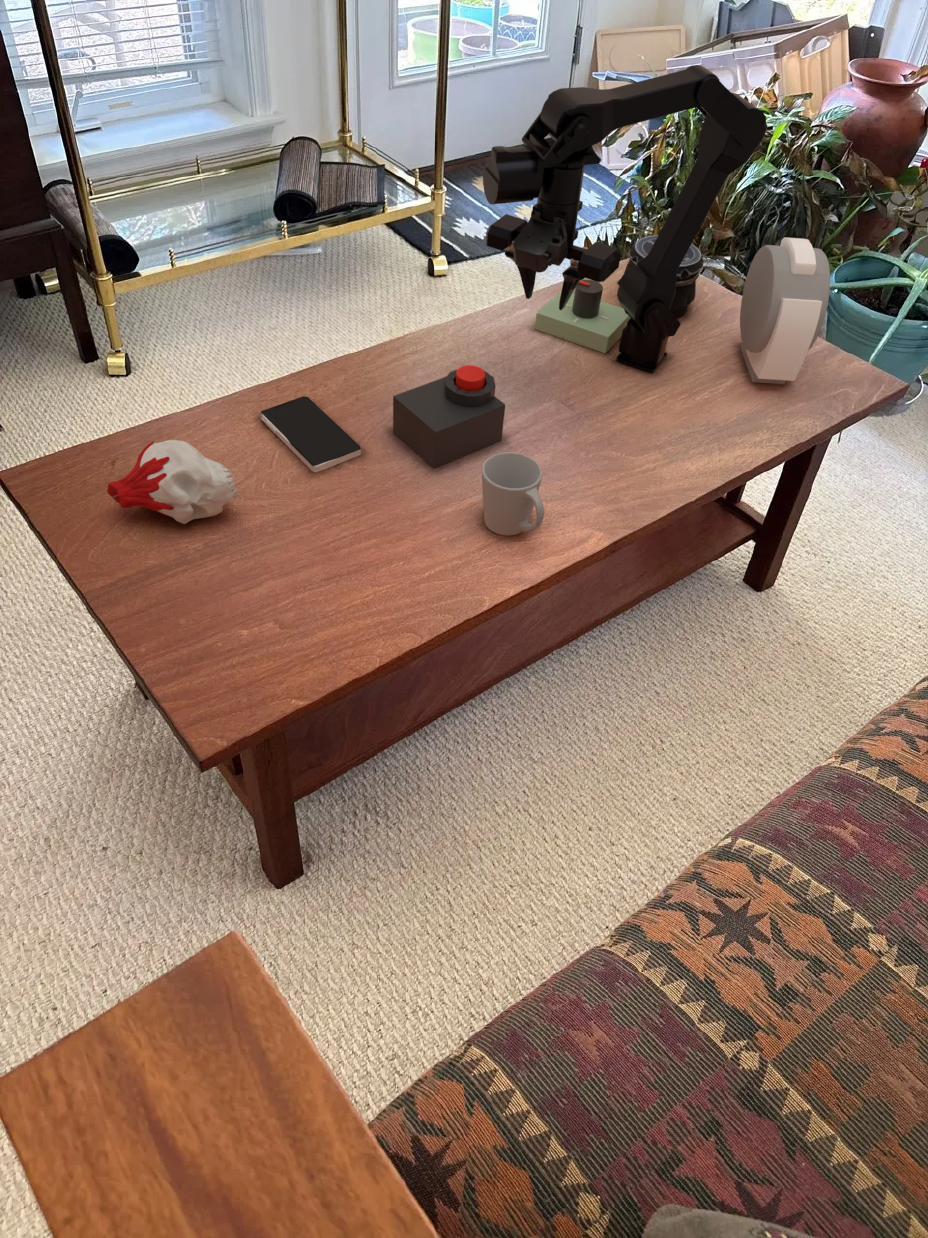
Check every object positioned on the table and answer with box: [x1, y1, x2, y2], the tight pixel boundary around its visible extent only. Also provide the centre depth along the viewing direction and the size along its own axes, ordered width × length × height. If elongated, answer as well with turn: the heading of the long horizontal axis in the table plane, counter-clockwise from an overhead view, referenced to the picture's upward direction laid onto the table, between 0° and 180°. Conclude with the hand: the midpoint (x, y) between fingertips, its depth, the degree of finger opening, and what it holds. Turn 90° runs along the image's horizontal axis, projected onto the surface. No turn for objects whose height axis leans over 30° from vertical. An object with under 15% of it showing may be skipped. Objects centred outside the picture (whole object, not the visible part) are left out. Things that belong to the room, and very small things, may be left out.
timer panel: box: [534, 289, 630, 354], centre depth 157 cm, size 13×10×3 cm
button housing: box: [392, 368, 506, 470], centre depth 133 cm, size 13×10×8 cm
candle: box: [106, 439, 240, 525], centre depth 119 cm, size 9×11×15 cm
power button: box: [456, 364, 485, 391], centre depth 131 cm, size 4×4×2 cm
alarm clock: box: [739, 237, 831, 385], centre depth 147 cm, size 18×8×20 cm, turn 179°
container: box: [627, 234, 704, 320], centre depth 162 cm, size 13×13×10 cm
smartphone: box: [259, 395, 362, 473], centre depth 133 cm, size 8×1×15 cm
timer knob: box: [572, 279, 604, 318], centre depth 155 cm, size 4×4×5 cm
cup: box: [481, 451, 545, 537], centre depth 120 cm, size 8×10×8 cm
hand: (545, 303), depth 139 cm, fingers open, 5 cm apart
